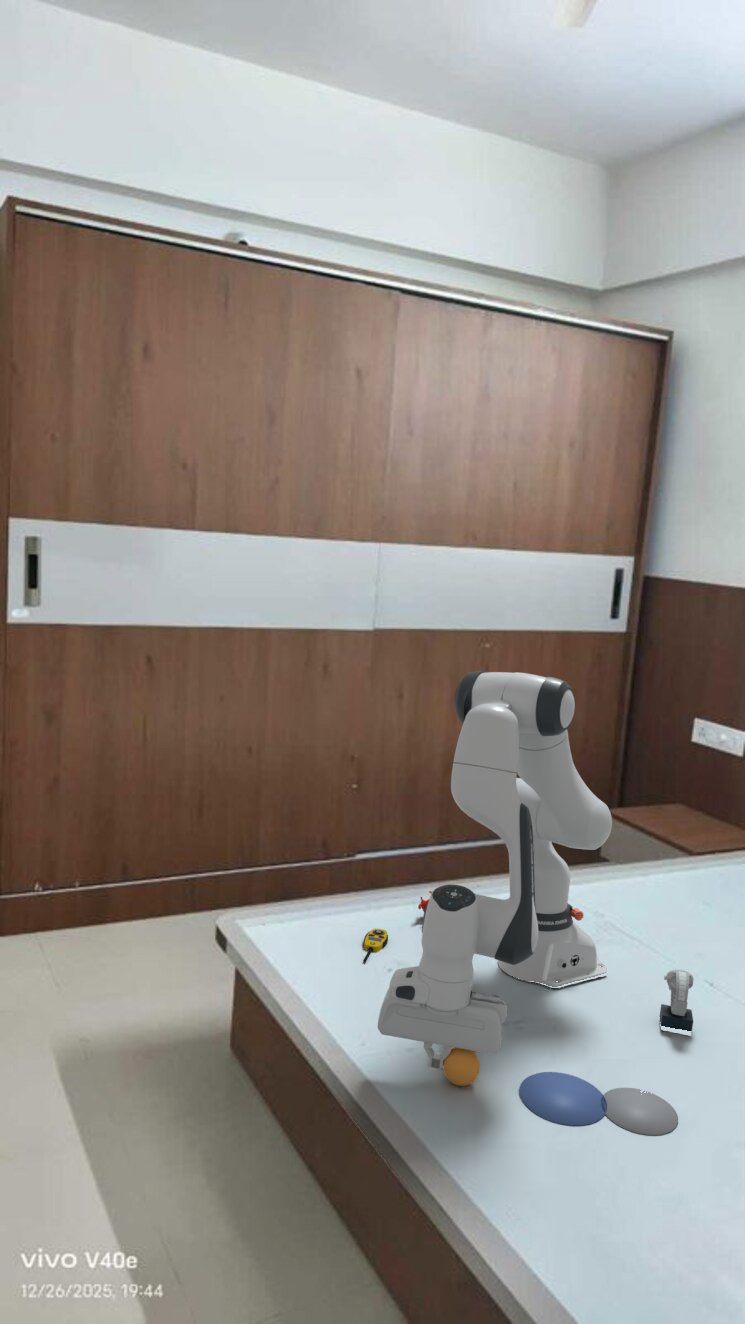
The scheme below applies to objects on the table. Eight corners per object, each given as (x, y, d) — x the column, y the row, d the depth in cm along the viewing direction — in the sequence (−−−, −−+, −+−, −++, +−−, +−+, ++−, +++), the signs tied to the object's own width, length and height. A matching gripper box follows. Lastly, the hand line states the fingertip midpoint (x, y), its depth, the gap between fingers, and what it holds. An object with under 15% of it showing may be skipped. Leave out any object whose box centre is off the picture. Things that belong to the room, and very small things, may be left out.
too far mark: (647, 1084, 162) (647, 1083, 162) (694, 1128, 151) (694, 1127, 151) (586, 1094, 158) (586, 1093, 158) (629, 1140, 147) (629, 1139, 147)
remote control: (391, 929, 211) (375, 958, 196) (391, 937, 211) (375, 967, 197) (370, 925, 212) (352, 954, 197) (369, 933, 212) (352, 963, 198)
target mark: (576, 1068, 165) (576, 1067, 165) (624, 1118, 153) (624, 1117, 152) (503, 1079, 160) (503, 1078, 160) (547, 1131, 148) (547, 1130, 148)
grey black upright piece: (688, 1019, 185) (696, 966, 183) (691, 1041, 177) (699, 985, 175) (658, 1014, 186) (665, 960, 184) (660, 1035, 178) (667, 979, 177)
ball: (454, 1066, 163) (478, 1043, 162) (467, 1097, 158) (492, 1074, 157) (430, 1057, 160) (455, 1034, 158) (443, 1089, 155) (469, 1065, 153)
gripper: (509, 989, 158) (500, 1067, 160) (386, 968, 162) (378, 1045, 164) (507, 1007, 152) (498, 1088, 154) (379, 985, 155) (372, 1065, 157)
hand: (435, 1066), depth 159 cm, fingers closed
